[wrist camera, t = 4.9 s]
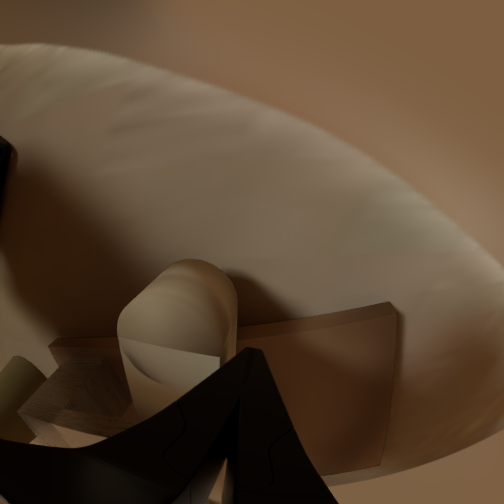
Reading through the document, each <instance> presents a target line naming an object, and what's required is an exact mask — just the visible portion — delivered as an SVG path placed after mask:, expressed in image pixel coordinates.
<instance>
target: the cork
mask: <svg viewBox="0 0 504 504" xmlns="http://www.w3.org/2000/svg"><path fill="white" fill-rule="evenodd" d="M46 380H47V378H46V377H45V376H44V375H43V374H42V373H41V372H40V371H39V370H38V369H37V368H36V367H35V366H34V365H33V364H32V363H30V362H29V361H27V360H26V359H25V358H22V357H20V356H14V357H13V358H12V359H11V360H10V361H9V363H8V364H7V365H6V366H5V367H4V369H3V370H2V371H1V372H0V438H1V439H5V440H10V441H16V442H22V443H28V444H29V443H30V442H31V441H32V440H33V439H35V438H36V437H37V436H36V435H35V434H34V433H33V431H32V430H31V429H30V428H29V426H28V425H27V424H26V423H25V421H24V420H23V419H22V417H21V416H20V415H19V414H18V412H17V411H18V410H19V409H20V408H21V407H22V406H23V404H24V403H25V402H26V401H27V400H28V399H29V398H30V397H31V396H32V395H33V394H34V393H35V392H36V391H37V389H38V388H39V387H40V386H41V385H42V384H43V383H44V382H45V381H46Z"/></svg>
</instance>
